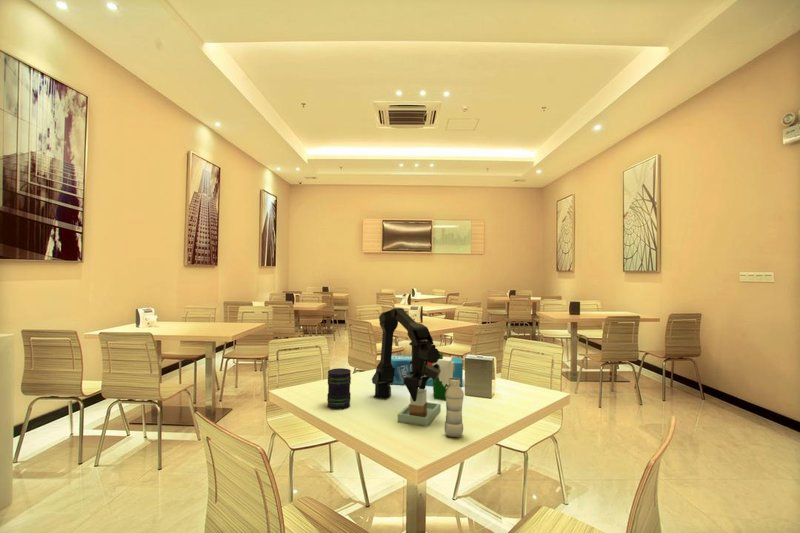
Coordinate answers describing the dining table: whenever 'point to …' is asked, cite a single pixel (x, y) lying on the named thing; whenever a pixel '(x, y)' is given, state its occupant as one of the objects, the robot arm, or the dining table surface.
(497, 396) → the dining table surface
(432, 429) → the dining table surface
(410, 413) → the walnut block
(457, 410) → the plastic bottle
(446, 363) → the milk carton
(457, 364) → the soda box
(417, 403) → the cube
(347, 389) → the storage jar
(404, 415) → the tray
